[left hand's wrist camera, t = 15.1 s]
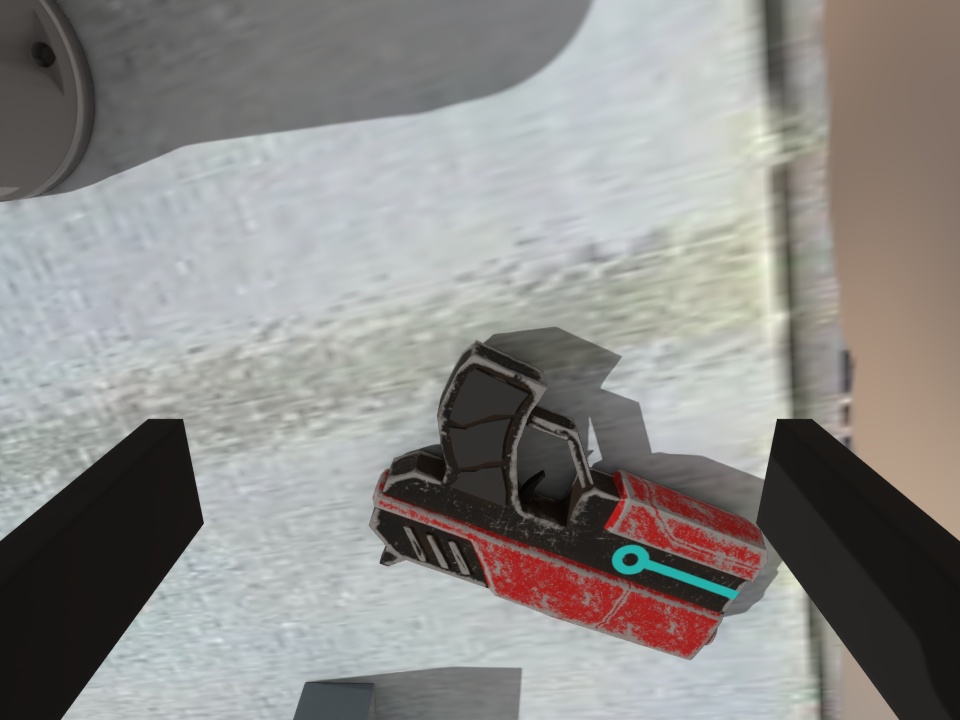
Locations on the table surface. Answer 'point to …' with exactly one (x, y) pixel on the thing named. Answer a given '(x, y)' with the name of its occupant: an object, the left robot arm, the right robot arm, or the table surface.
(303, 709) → the grey rectangular block
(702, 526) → the gun
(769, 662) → the table surface
